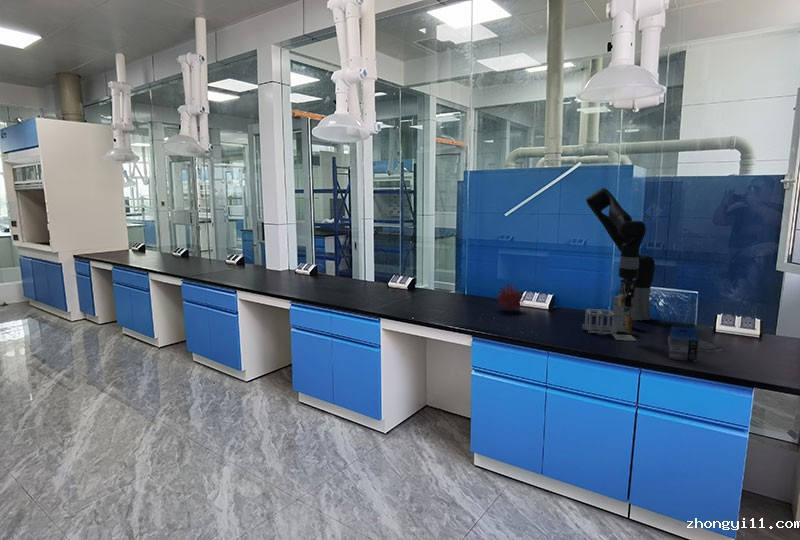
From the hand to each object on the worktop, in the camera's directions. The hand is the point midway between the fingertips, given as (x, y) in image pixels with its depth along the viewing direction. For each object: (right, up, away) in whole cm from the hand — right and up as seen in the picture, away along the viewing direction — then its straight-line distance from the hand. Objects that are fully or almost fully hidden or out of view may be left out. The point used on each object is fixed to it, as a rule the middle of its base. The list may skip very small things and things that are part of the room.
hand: (626, 304), depth 199 cm
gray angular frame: (-6, -14, +13) cm, 20 cm away
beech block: (0, -1, 0) cm, 1 cm away
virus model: (-39, -8, +52) cm, 66 cm away
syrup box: (+9, -12, +24) cm, 28 cm away
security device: (+27, -18, -8) cm, 33 cm away
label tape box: (+9, -19, -25) cm, 33 cm away
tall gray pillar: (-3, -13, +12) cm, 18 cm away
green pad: (0, -15, +2) cm, 15 cm away
